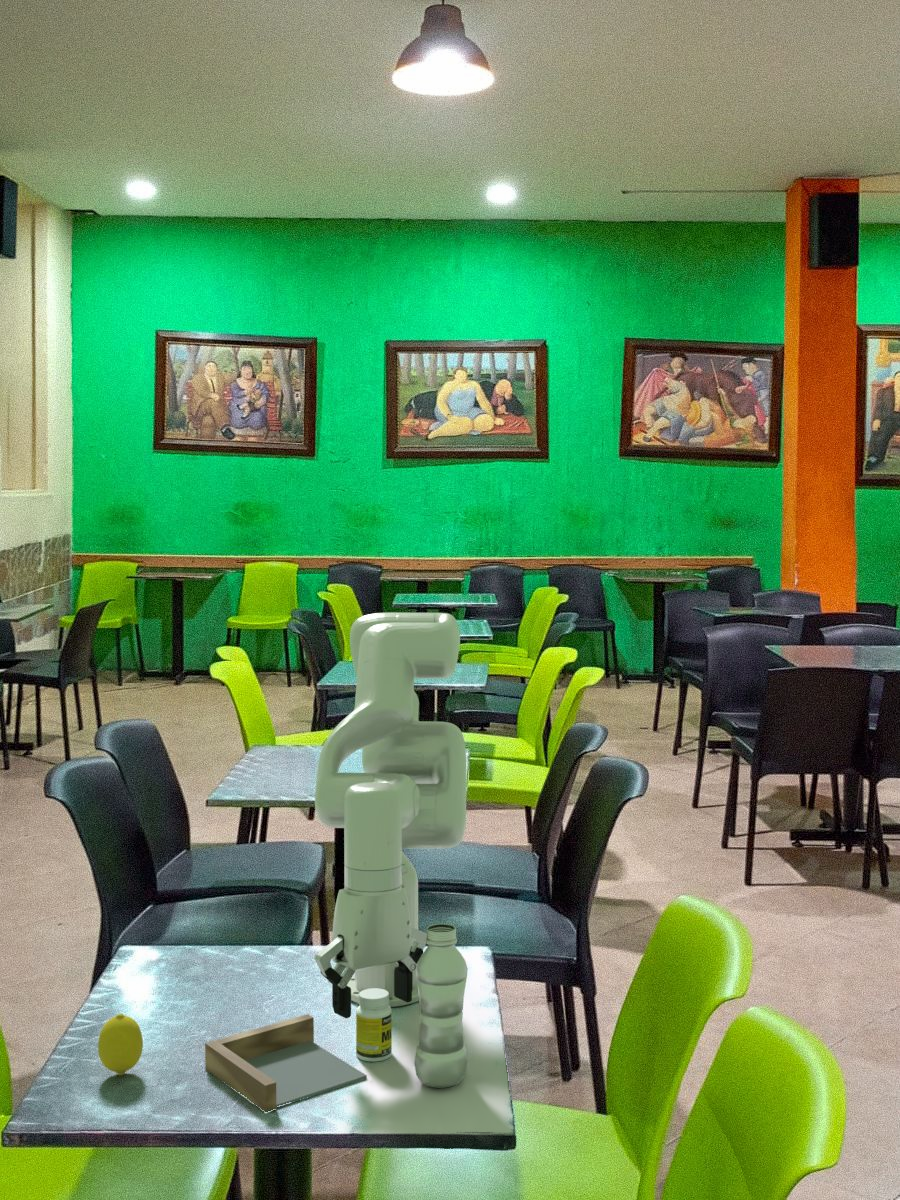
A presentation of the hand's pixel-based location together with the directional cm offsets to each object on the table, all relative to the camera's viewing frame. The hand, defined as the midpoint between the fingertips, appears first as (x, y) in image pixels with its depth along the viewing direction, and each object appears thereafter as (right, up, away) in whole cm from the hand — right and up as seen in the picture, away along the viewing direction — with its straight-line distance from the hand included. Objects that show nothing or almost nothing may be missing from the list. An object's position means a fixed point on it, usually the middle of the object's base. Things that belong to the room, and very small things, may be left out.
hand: (373, 1007), depth 170 cm
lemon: (-32, -8, -4) cm, 33 cm away
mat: (-10, -7, -4) cm, 13 cm away
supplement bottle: (0, -7, +2) cm, 7 cm away
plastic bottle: (+9, -8, -7) cm, 14 cm away
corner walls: (-11, -7, -4) cm, 14 cm away
